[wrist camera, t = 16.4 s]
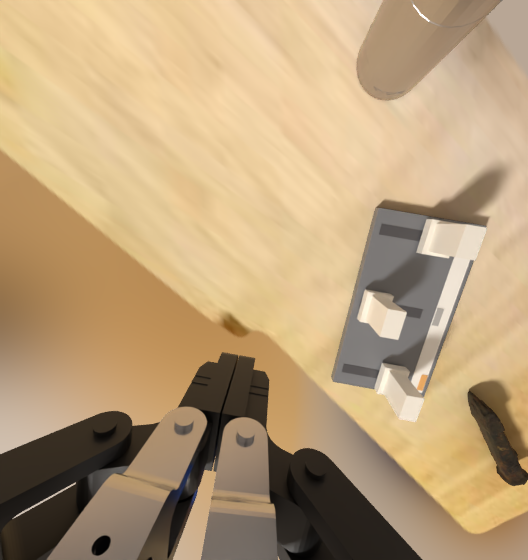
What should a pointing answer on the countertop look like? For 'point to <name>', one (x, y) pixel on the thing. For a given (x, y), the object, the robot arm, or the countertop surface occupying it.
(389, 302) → the middle tab
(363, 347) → the switch bank
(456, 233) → the near tab
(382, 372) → the far tab
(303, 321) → the countertop surface
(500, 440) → the hand tool
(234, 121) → the countertop surface
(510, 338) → the countertop surface
